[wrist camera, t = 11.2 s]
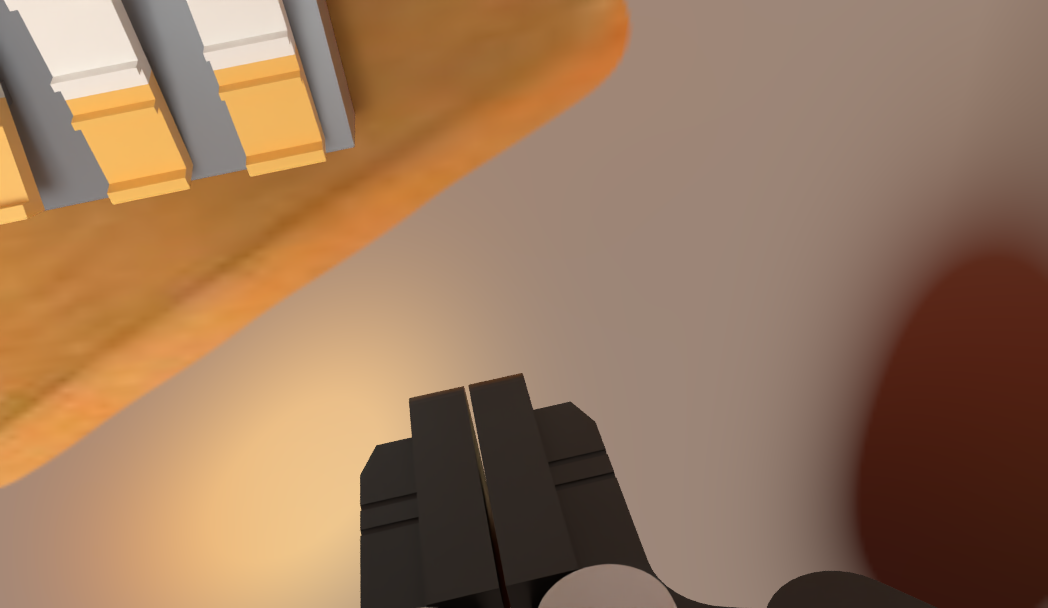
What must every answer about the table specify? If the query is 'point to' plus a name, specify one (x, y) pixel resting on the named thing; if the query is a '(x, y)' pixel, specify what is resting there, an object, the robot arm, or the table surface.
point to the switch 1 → (15, 173)
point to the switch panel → (186, 85)
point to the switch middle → (110, 94)
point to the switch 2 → (261, 82)
